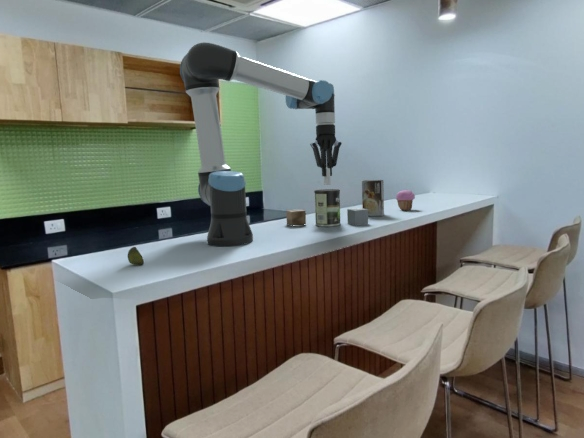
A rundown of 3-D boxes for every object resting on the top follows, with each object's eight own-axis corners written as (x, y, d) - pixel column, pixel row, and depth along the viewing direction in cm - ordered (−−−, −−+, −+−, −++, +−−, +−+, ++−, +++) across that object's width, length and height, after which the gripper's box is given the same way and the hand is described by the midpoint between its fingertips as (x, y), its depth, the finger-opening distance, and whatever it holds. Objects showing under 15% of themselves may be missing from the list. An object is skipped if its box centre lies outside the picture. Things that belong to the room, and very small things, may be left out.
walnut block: (292, 226, 168) (291, 211, 167) (286, 224, 174) (286, 210, 173) (305, 225, 171) (305, 210, 170) (300, 223, 176) (299, 208, 175)
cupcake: (418, 209, 206) (418, 189, 205) (406, 211, 201) (406, 190, 200) (404, 208, 214) (404, 188, 212) (392, 210, 209) (392, 190, 207)
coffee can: (341, 222, 174) (340, 188, 172) (339, 226, 164) (338, 190, 162) (317, 222, 176) (316, 189, 174) (313, 226, 166) (312, 191, 164)
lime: (134, 262, 115) (133, 244, 114) (149, 263, 114) (148, 245, 113) (123, 266, 111) (122, 248, 110) (139, 267, 110) (137, 248, 109)
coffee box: (384, 214, 194) (384, 179, 192) (382, 216, 188) (381, 180, 186) (364, 214, 197) (364, 180, 195) (361, 216, 191) (361, 180, 189)
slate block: (355, 225, 165) (354, 210, 164) (347, 223, 171) (347, 208, 170) (368, 224, 168) (367, 208, 167) (360, 222, 173) (360, 207, 172)
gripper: (335, 125, 170) (337, 183, 173) (306, 125, 165) (308, 185, 169) (344, 123, 163) (346, 184, 167) (314, 123, 158) (316, 186, 162)
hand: (327, 184), depth 168 cm, fingers closed
